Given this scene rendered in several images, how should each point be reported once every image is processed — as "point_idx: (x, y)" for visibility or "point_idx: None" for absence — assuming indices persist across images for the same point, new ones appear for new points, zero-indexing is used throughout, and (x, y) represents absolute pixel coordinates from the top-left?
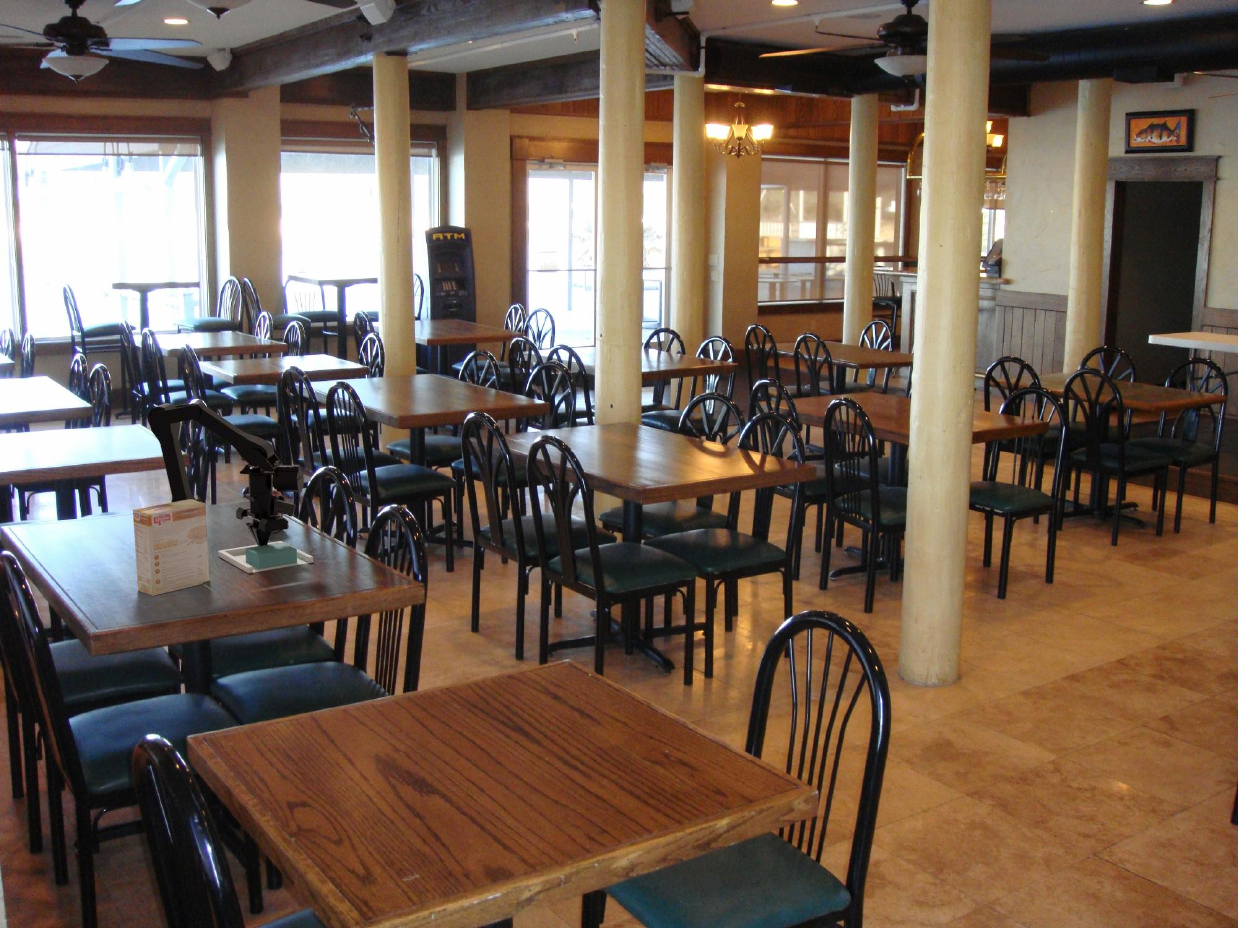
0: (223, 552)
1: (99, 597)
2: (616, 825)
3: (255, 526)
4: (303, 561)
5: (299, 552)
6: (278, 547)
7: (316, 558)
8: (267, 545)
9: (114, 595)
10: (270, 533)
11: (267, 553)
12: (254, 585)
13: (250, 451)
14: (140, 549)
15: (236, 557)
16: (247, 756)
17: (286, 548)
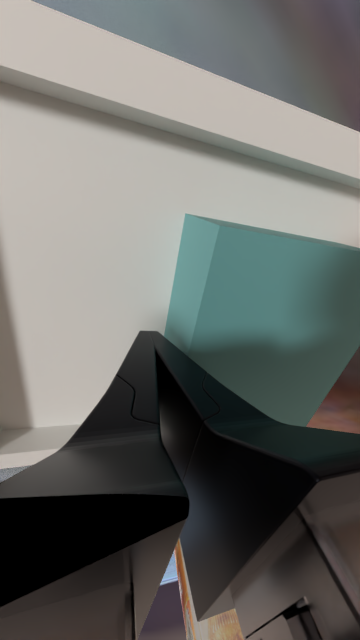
0: (17, 460)
1: (166, 569)
2: None
3: (216, 608)
4: (351, 201)
5: (318, 158)
6: (293, 327)
7: (351, 31)
8: (203, 358)
9: (173, 560)
10: (256, 411)
11: (316, 405)
12: (330, 420)
13: None
14: None
15: (53, 400)
16: None
17: (350, 303)
